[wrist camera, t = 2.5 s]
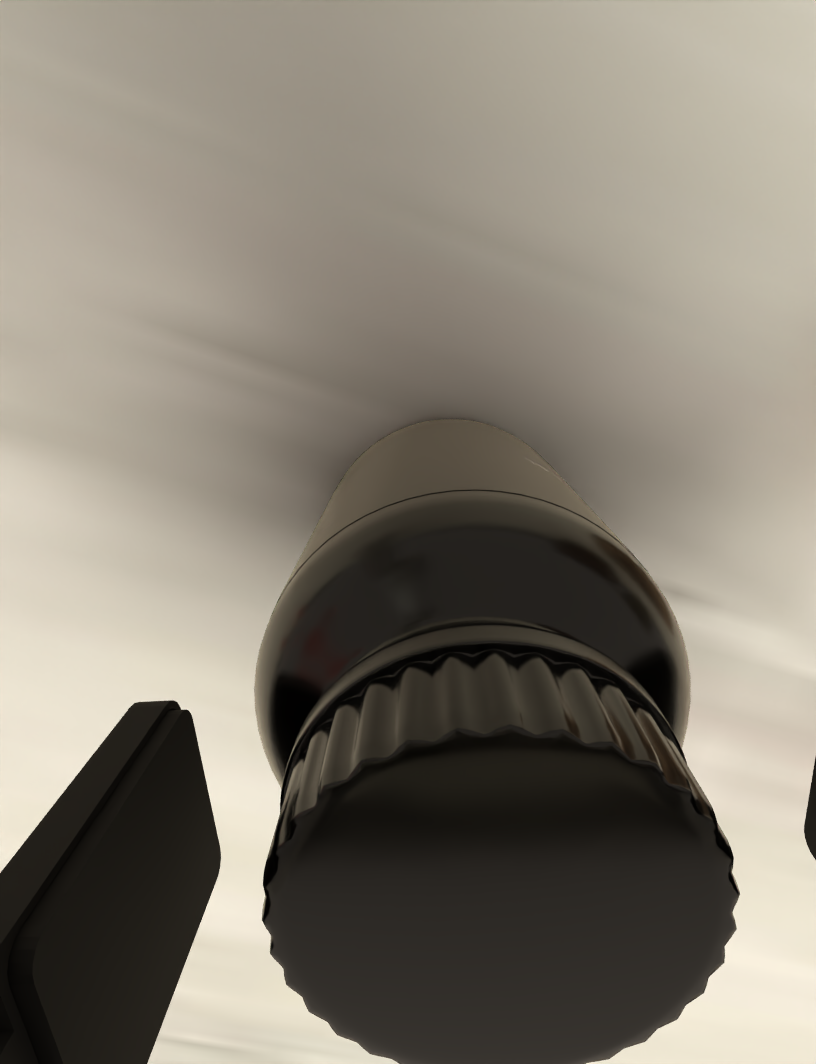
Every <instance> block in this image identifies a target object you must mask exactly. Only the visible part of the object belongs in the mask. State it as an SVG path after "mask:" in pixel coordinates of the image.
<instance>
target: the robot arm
mask: <svg viewBox="0 0 816 1064" xmlns="http://www.w3.org/2000/svg"><path fill="white" fill-rule="evenodd" d="M804 833H805V839H806V842H807V845H808V847H809V850H810V852H811V853H812V855H813V857H814V858H815V860H816V758H815V764H814V770H813V776H812V782H811V788H810V795H809V801H808V807H807V813H806V819H805V825H804ZM220 861H221V852H220V845H219V840H218V836H217V831H216V826H215V822H214V817H213V812H212V808H211V803H210V798H209V793H208V789H207V784H206V779H205V775H204V770H203V765H202V761H201V756H200V751H199V746H198V742H197V737H196V732H195V728H194V723H193V719H192V715H191V713H190V712H189V711H188V710H181V708H180V706H179V704H178V703H177V702H175V701H153V702H138V703H134V704H133V705H132V706H131V707H130V708H129V709H128V711H127V712H126V713H125V715H124V716H123V717H122V718H121V720H120V721H119V722H118V724H117V725H116V726H115V727H114V729H113V730H112V731H111V732H110V734H109V735H108V736H107V738H106V739H105V740H104V741H103V743H102V744H101V745H100V747H99V748H98V749H97V750H96V752H95V753H94V754H93V755H92V757H91V758H90V759H89V761H88V762H87V763H86V764H85V766H84V767H83V768H82V770H81V771H80V772H79V773H78V775H77V776H76V777H75V778H74V780H73V781H72V782H71V784H70V785H69V786H68V787H67V789H66V790H65V791H64V793H63V794H62V795H61V796H60V798H59V799H58V800H57V801H56V803H55V804H54V805H53V807H52V808H51V809H50V810H49V812H48V813H47V814H46V815H45V817H44V818H43V819H42V821H41V822H40V823H39V824H38V826H37V827H36V828H35V830H34V831H33V832H32V833H31V835H30V836H29V837H28V838H27V840H26V841H25V842H24V844H23V845H22V846H21V847H20V849H19V850H18V851H17V853H16V854H15V855H14V856H13V858H12V859H11V860H10V861H9V863H8V864H7V865H6V867H5V868H4V869H3V870H2V872H1V873H0V1064H147V1062H148V1060H149V1057H150V1054H151V1052H152V1049H153V1047H154V1044H155V1041H156V1039H157V1036H158V1033H159V1031H160V1028H161V1025H162V1023H163V1020H164V1017H165V1015H166V1012H167V1010H168V1007H169V1004H170V1002H171V999H172V996H173V994H174V991H175V988H176V986H177V983H178V980H179V978H180V975H181V972H182V970H183V967H184V965H185V962H186V959H187V957H188V954H189V951H190V949H191V946H192V943H193V941H194V938H195V935H196V933H197V930H198V928H199V925H200V922H201V920H202V917H203V914H204V912H205V909H206V906H207V904H208V901H209V898H210V896H211V893H212V891H213V888H214V885H215V883H216V880H217V877H218V874H219V869H220Z"/></svg>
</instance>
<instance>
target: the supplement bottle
mask: <svg viewBox="0 0 816 1064" xmlns="http://www.w3.org/2000/svg"><path fill="white" fill-rule="evenodd" d="M254 692H255V712H256V718H257V725H258V730H259V734H260V738H261V741H262V745H263V749H264V751H265V754H266V757H267V759H268V762H269V764H270V767H271V770H272V772H273V773H274V775H275V777H276V779H277V781H278V783H279V785H280V787H281V789H282V791H281V802H280V816H279V819H278V823H277V826H276V829H275V833H274V836H273V840H272V843H271V847H270V850H269V854H268V858H267V861H266V865H265V869H264V877H263V887H264V891H265V899H264V904H263V912H262V921H263V923H264V925H265V927H266V929H267V930H268V931H269V933H270V934H271V943H270V954H271V955H272V956H273V958H274V959H275V960H276V961H277V962H278V963H279V964H280V965H281V966H282V967H283V969H284V977H285V981H286V985H288V986H289V987H290V988H291V989H292V990H294V991H296V992H297V993H298V994H299V995H301V996H302V997H303V1000H304V1002H305V1005H306V1007H307V1009H308V1011H309V1012H310V1013H312V1014H314V1015H316V1016H317V1017H319V1018H321V1019H323V1020H325V1021H327V1022H328V1023H329V1025H330V1026H331V1028H332V1029H333V1030H334V1032H335V1033H336V1034H337V1035H339V1036H341V1037H344V1038H346V1039H349V1040H352V1041H355V1042H357V1043H358V1044H359V1045H360V1046H361V1047H363V1048H364V1049H365V1050H366V1051H367V1052H368V1053H370V1054H372V1055H376V1056H381V1057H386V1058H390V1059H393V1060H394V1061H396V1062H398V1063H399V1064H586V1063H589V1062H595V1061H601V1060H607V1059H610V1058H611V1057H613V1056H614V1055H615V1054H617V1053H618V1052H620V1051H621V1050H622V1049H624V1048H627V1047H630V1046H633V1045H636V1044H639V1043H643V1042H645V1041H646V1040H647V1039H648V1038H649V1037H650V1036H651V1035H652V1034H653V1033H654V1032H655V1031H656V1030H657V1029H658V1028H660V1027H662V1026H664V1025H667V1024H669V1023H671V1022H673V1021H675V1020H677V1019H678V1017H679V1016H680V1014H681V1013H682V1011H683V1009H684V1007H685V1006H686V1005H687V1004H688V1003H690V1002H691V1001H693V1000H694V999H696V998H697V997H699V996H700V995H701V994H703V993H704V991H705V988H706V986H707V982H708V978H709V976H710V975H712V974H713V973H714V972H715V971H716V970H717V969H718V968H719V967H720V966H721V965H722V964H723V963H724V958H725V948H724V946H725V945H726V944H727V942H728V941H729V939H730V938H731V937H732V935H733V934H734V932H735V931H736V924H735V919H734V916H733V913H732V912H733V909H734V906H735V904H736V903H737V900H738V898H739V895H740V892H739V889H738V885H737V882H736V880H735V878H734V876H733V874H732V869H733V859H734V857H733V854H732V850H731V847H730V845H729V842H728V840H727V839H726V837H725V835H724V833H723V831H722V830H721V828H720V826H719V825H718V823H717V820H716V817H715V813H714V811H713V808H712V806H711V804H710V802H709V801H708V799H707V797H706V796H705V794H704V792H703V791H702V789H701V787H700V786H699V784H698V782H697V781H696V779H695V777H694V776H693V774H692V772H691V771H690V769H689V767H688V766H687V762H686V759H685V756H684V753H683V751H682V746H683V742H684V738H685V734H686V729H687V725H688V717H689V709H690V671H689V662H688V656H687V652H686V648H685V644H684V640H683V636H682V633H681V631H680V628H679V625H678V623H677V620H676V617H675V615H674V613H673V611H672V609H671V607H670V605H669V603H668V601H667V600H666V598H665V597H664V595H663V593H662V592H661V590H660V589H659V587H658V586H657V584H656V583H655V582H654V580H653V579H652V577H651V576H650V575H649V573H648V572H647V570H646V569H645V568H644V567H643V566H642V564H641V563H640V562H639V561H638V560H637V559H636V557H635V556H634V555H633V554H632V553H631V552H630V550H629V549H628V548H627V547H626V546H625V545H624V544H623V543H622V542H621V541H620V540H619V539H618V537H617V536H616V535H615V534H614V533H613V532H612V531H611V530H610V529H609V528H608V527H607V526H606V525H605V524H604V522H603V521H602V520H601V519H600V518H599V517H598V516H597V515H596V514H595V513H594V512H593V511H592V510H591V509H590V507H589V506H588V505H587V504H586V503H585V502H584V501H583V500H582V499H581V498H580V497H579V496H578V495H577V493H576V492H575V491H574V490H573V489H572V488H571V487H570V486H569V485H568V484H567V483H566V482H565V481H564V480H563V478H562V477H561V476H560V475H559V474H558V473H557V472H556V471H555V470H554V469H553V468H552V467H551V466H550V465H549V464H548V463H547V462H546V461H545V460H544V459H543V458H542V457H541V456H540V455H539V454H538V453H537V452H536V451H535V450H534V449H532V448H531V447H530V446H528V445H527V444H526V443H524V442H523V441H521V440H520V439H518V438H517V437H515V436H513V435H512V434H509V433H507V432H505V431H503V430H501V429H499V428H496V427H493V426H491V425H488V424H484V423H480V422H476V421H470V420H462V419H438V420H431V421H425V422H421V423H417V424H413V425H410V426H407V427H405V428H402V429H400V430H397V431H395V432H393V433H391V434H389V435H388V436H386V437H384V438H383V439H381V440H379V441H378V442H377V443H375V444H374V445H372V446H371V447H370V448H369V449H368V450H366V451H365V452H364V453H363V454H362V455H361V456H360V457H359V458H358V459H357V460H356V461H355V462H354V463H353V465H352V466H351V467H350V468H349V470H348V471H347V472H346V474H345V475H344V477H343V478H342V480H341V482H340V483H339V485H338V486H337V488H336V490H335V492H334V493H333V495H332V497H331V499H330V501H329V503H328V505H327V507H326V509H325V511H324V512H323V514H322V516H321V518H320V520H319V522H318V524H317V526H316V528H315V530H314V532H313V534H312V536H311V537H310V539H309V541H308V543H307V545H306V547H305V549H304V551H303V553H302V555H301V557H300V559H299V561H298V562H297V564H296V566H295V568H294V570H293V572H292V574H291V576H290V578H289V580H288V582H287V584H286V586H285V588H284V589H283V591H282V593H281V595H280V597H279V599H278V602H277V604H276V606H275V608H274V611H273V613H272V615H271V618H270V621H269V623H268V625H267V628H266V631H265V634H264V637H263V640H262V644H261V647H260V650H259V655H258V660H257V665H256V674H255V689H254Z"/></svg>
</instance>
